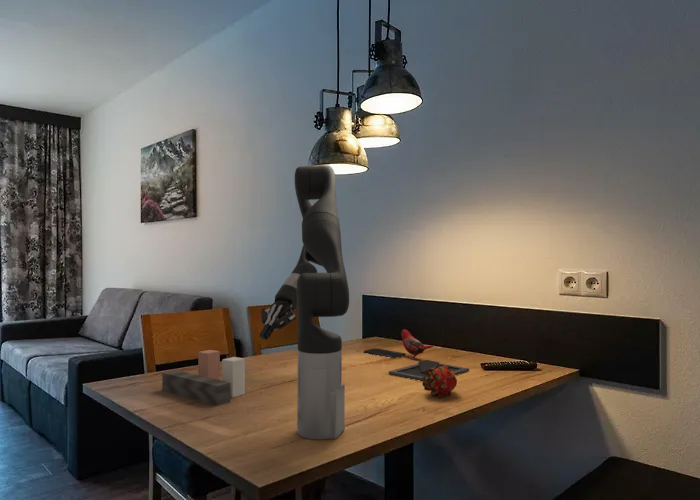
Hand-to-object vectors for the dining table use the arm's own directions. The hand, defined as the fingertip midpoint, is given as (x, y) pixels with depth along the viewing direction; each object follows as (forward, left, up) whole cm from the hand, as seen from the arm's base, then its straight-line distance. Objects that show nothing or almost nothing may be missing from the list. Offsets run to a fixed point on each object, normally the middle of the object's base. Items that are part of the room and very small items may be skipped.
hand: (262, 338), depth 144 cm
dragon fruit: (-49, -5, -14) cm, 51 cm away
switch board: (+8, +15, -13) cm, 21 cm away
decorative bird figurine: (-36, -47, -14) cm, 61 cm away
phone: (-23, -54, -14) cm, 60 cm away
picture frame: (-43, -29, -14) cm, 54 cm away
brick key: (+12, +8, -12) cm, 19 cm away
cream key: (+1, +15, -12) cm, 19 cm away
